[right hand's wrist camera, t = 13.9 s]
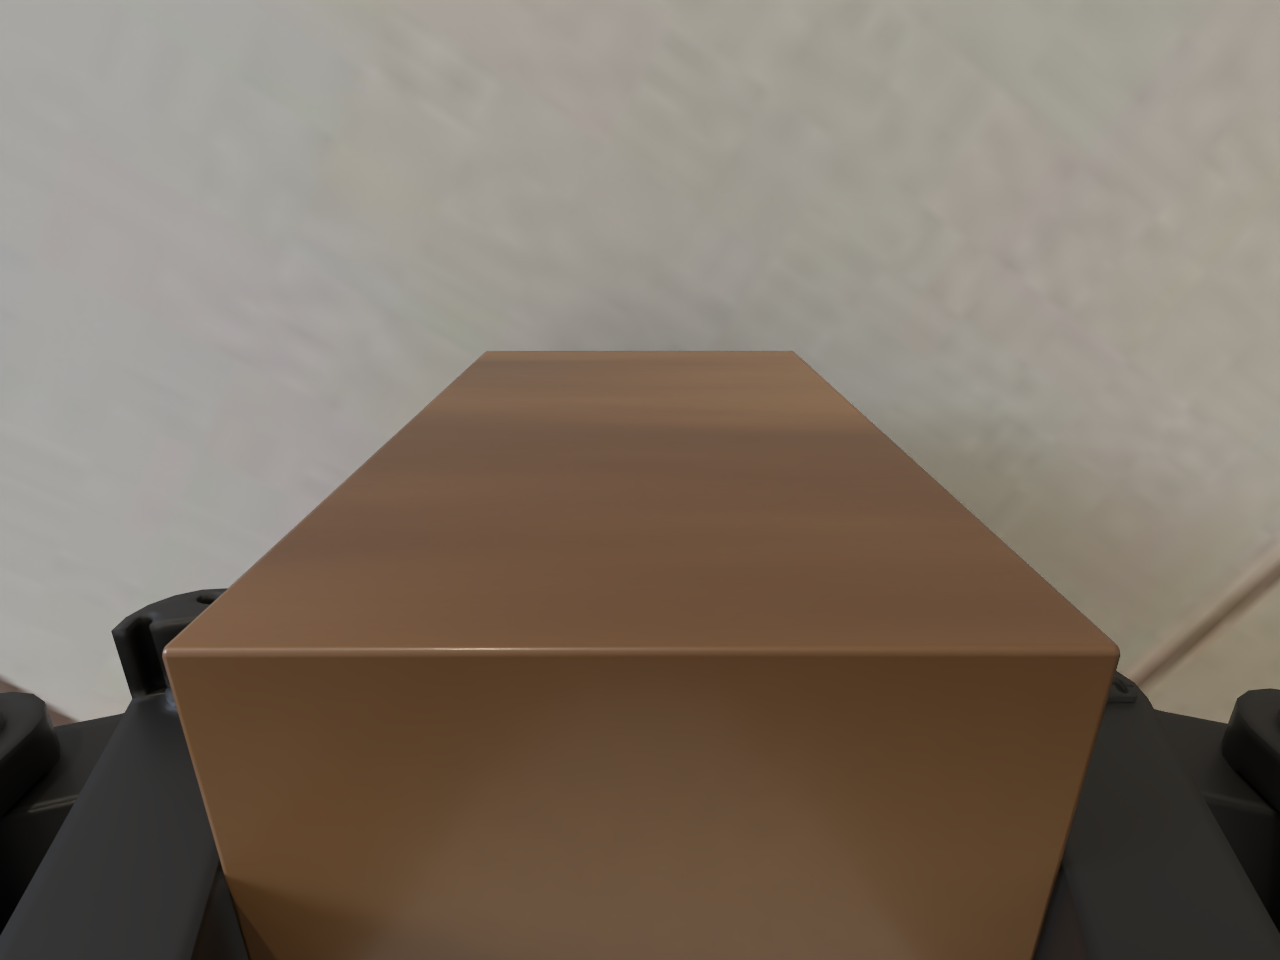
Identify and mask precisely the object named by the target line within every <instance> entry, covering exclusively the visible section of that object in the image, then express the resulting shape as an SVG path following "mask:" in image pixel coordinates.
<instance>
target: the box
mask: <svg viewBox="0 0 1280 960" xmlns="http://www.w3.org/2000/svg"><path fill="white" fill-rule="evenodd" d="M162 658H163V662H164V665H165V669H166V672H167V676H168V679H169V683H170V686H171V690H172V693H173V697H174V700H175V704H176V707H177V711H178V714H179V718H180V721H181V725H182V728H183V732H184V735H185V739H186V742H187V746H188V749H189V753H190V756H191V760H192V763H193V767H194V770H195V774H196V777H197V781H198V784H199V788H200V791H201V795H202V798H203V802H204V805H205V809H206V812H207V816H208V819H209V823H210V826H211V830H212V834H213V837H214V841H215V844H216V848H217V851H218V855H219V858H220V862H221V865H222V869H223V872H224V876H225V879H226V883H227V886H228V890H229V893H230V897H231V900H232V904H233V907H234V911H235V914H236V918H237V921H238V925H239V928H240V932H241V935H242V939H243V942H244V946H245V949H246V953H247V956H248V960H1033V959H1034V956H1035V952H1036V949H1037V945H1038V942H1039V938H1040V935H1041V931H1042V928H1043V924H1044V921H1045V917H1046V914H1047V910H1048V907H1049V903H1050V900H1051V896H1052V893H1053V889H1054V886H1055V882H1056V878H1057V875H1058V871H1059V868H1060V864H1061V861H1062V857H1063V854H1064V850H1065V847H1066V843H1067V840H1068V836H1069V833H1070V829H1071V826H1072V822H1073V819H1074V815H1075V812H1076V808H1077V805H1078V801H1079V798H1080V794H1081V791H1082V787H1083V784H1084V780H1085V777H1086V773H1087V770H1088V766H1089V763H1090V759H1091V756H1092V752H1093V749H1094V745H1095V742H1096V738H1097V735H1098V731H1099V728H1100V724H1101V721H1102V717H1103V714H1104V710H1105V707H1106V703H1107V700H1108V696H1109V693H1110V689H1111V686H1112V682H1113V679H1114V675H1115V672H1116V668H1117V665H1118V661H1119V658H1120V650H1119V648H1118V646H1117V645H1116V644H1115V643H1114V642H1113V641H1112V640H1111V639H1110V638H1109V637H1107V636H1106V635H1105V634H1104V633H1103V632H1102V631H1101V630H1100V629H1099V628H1098V627H1096V626H1095V625H1094V624H1093V623H1092V622H1091V621H1090V620H1089V619H1088V618H1087V617H1085V616H1084V615H1083V614H1082V613H1081V612H1080V611H1079V610H1078V609H1077V608H1076V607H1074V606H1073V605H1072V604H1071V603H1070V602H1069V601H1068V600H1067V599H1066V598H1065V597H1063V596H1062V595H1061V594H1060V593H1059V592H1058V591H1057V590H1056V589H1055V588H1054V587H1052V586H1051V585H1050V584H1049V583H1048V582H1047V581H1046V580H1045V579H1044V578H1042V577H1041V576H1040V575H1039V574H1038V573H1037V572H1036V571H1035V570H1034V569H1033V568H1031V567H1030V566H1029V565H1028V564H1027V563H1026V562H1025V561H1024V560H1023V559H1022V558H1020V557H1019V556H1018V555H1017V554H1016V553H1015V552H1014V551H1013V550H1012V549H1011V548H1009V547H1008V546H1007V545H1006V544H1005V543H1004V542H1003V541H1002V540H1001V539H1000V538H998V537H997V536H996V535H995V534H994V533H993V532H992V531H991V530H990V529H989V528H987V527H986V526H985V525H984V524H983V523H982V522H981V521H980V520H979V519H977V518H976V517H975V516H974V515H973V514H972V513H971V512H970V511H969V510H968V509H966V508H965V507H964V506H963V505H962V504H961V503H960V502H959V501H958V500H957V499H955V498H954V497H953V496H952V495H951V494H950V493H949V492H948V491H947V490H946V489H944V488H943V487H942V486H941V485H940V484H939V483H938V482H937V481H936V480H935V479H933V478H932V477H931V476H930V475H929V474H928V473H927V472H926V471H925V470H924V469H922V468H921V467H920V466H919V465H918V464H917V463H916V462H915V461H914V460H912V459H911V458H910V457H909V456H908V455H907V454H906V453H905V452H904V451H903V450H901V449H900V448H899V447H898V446H897V445H896V444H895V443H894V442H893V441H892V440H890V439H889V438H888V437H887V436H886V435H885V434H884V433H883V432H882V431H881V430H879V429H878V428H877V427H876V426H875V425H874V424H873V423H872V422H871V421H870V420H868V419H867V418H866V417H865V416H864V415H863V414H862V413H861V412H860V411H859V410H857V409H856V408H855V407H854V406H853V405H852V404H851V403H850V402H849V401H847V400H846V399H845V398H844V397H843V396H842V395H841V394H840V393H839V392H838V391H836V390H835V389H834V388H833V387H832V386H831V385H830V384H829V383H828V382H827V381H825V380H824V379H823V378H822V377H821V376H820V375H819V374H818V373H817V372H816V371H814V370H813V369H812V368H811V367H810V366H809V365H808V364H807V363H806V362H805V361H803V360H802V359H801V358H800V357H799V356H798V355H797V354H796V353H795V352H793V351H487V352H485V353H484V354H483V355H482V356H481V357H479V358H478V359H477V360H476V361H475V362H474V363H473V364H472V365H471V366H470V367H469V368H468V369H466V370H465V371H464V372H463V373H462V374H461V375H460V376H459V377H458V378H457V379H456V380H454V381H453V382H452V383H451V384H450V385H449V386H448V387H447V388H446V389H445V390H444V391H442V392H441V393H440V394H439V395H438V396H437V397H436V398H435V399H434V400H433V401H432V402H431V403H429V404H428V405H427V406H426V407H425V408H424V409H423V410H422V411H421V412H420V413H419V414H417V415H416V416H415V417H414V418H413V419H412V420H411V421H410V422H409V423H408V424H407V425H405V426H404V427H403V428H402V429H401V430H400V431H399V432H398V433H397V434H396V435H395V436H394V437H392V438H391V439H390V440H389V441H388V442H387V443H386V444H385V445H384V446H383V447H382V448H380V449H379V450H378V451H377V452H376V453H375V454H374V455H373V456H372V457H371V458H370V459H368V460H367V461H366V462H365V463H364V464H363V465H362V466H361V467H360V468H359V469H358V470H357V471H355V472H354V473H353V474H352V475H351V476H350V477H349V478H348V479H347V480H346V481H345V482H343V483H342V484H341V485H340V486H339V487H338V488H337V489H336V490H335V491H334V492H333V493H331V494H330V495H329V496H328V497H327V498H326V499H325V500H324V501H323V502H322V503H321V504H320V505H318V506H317V507H316V508H315V509H314V510H313V511H312V512H311V513H310V514H309V515H308V516H306V517H305V518H304V519H303V520H302V521H301V522H300V523H299V524H298V525H297V526H296V527H294V528H293V529H292V530H291V531H290V532H289V533H288V534H287V535H286V536H285V537H284V538H283V539H281V540H280V541H279V542H278V543H277V544H276V545H275V546H274V547H273V548H272V549H271V550H269V551H268V552H267V553H266V554H265V555H264V556H263V557H262V558H261V559H260V560H259V561H257V562H256V563H255V564H254V565H253V566H252V567H251V568H250V569H249V570H248V571H247V572H245V573H244V574H243V575H242V576H241V577H240V578H239V579H238V580H237V581H236V582H235V583H234V584H232V585H231V586H230V587H229V588H228V589H227V590H226V591H225V592H224V593H223V594H222V595H220V596H219V597H218V598H217V599H216V600H215V601H214V602H213V603H212V604H211V605H210V606H208V607H207V608H206V609H205V610H204V611H203V612H202V613H201V614H200V615H199V616H198V617H197V618H195V619H194V620H193V621H192V622H191V623H190V624H189V625H188V626H187V627H186V628H185V629H183V630H182V631H181V632H180V633H179V634H178V635H177V636H176V637H175V638H174V639H173V640H171V641H170V642H169V643H168V644H167V645H166V646H165V647H164V649H163V653H162Z"/></svg>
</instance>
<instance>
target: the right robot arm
mask: <svg viewBox="0 0 1280 960" xmlns="http://www.w3.org/2000/svg"><path fill="white" fill-rule="evenodd" d="M226 590H227V589H208V590H199V591H194V592H189V593H185V594H180V595H175V596H172V597H170V598H167V599H164V600H161V601H158V602H156V603H153V604H150V605H148V606H146V607H144V608H142V609H140V610H139V611H137V612H135V613H133V614H131V615H130V616H128V617H126V618H125V619H124V620H123V621H122V622H121V623H120V624H118V625H117V626H116V627H115V628H114V629H113V630H112V635H113V638H114V641H115V644H116V648H117V651H118V654H119V657H120V660H121V664H122V667H123V670H124V673H125V677H126V680H127V683H128V686H129V689H130V693H131V696H132V701H131V703H130V704H129V706H128V708H127V710H126V711H125V713H123V714H119V715H114V716H109V717H104V718H98V719H93V720H88V721H83V722H78V723H73V724H68V725H62V726H57V727H54V726H53V724H52V721H51V718H50V716H49V713H48V710H47V707H46V704H45V702H44V701H43V700H41V699H40V698H38V697H37V696H35V695H34V694H29V693H18V692H8V693H0V960H248V956H247V953H246V949H245V946H244V942H243V939H242V935H241V932H240V928H239V925H238V921H237V918H236V914H235V911H234V907H233V904H232V900H231V897H230V893H229V890H228V886H227V883H226V879H225V876H224V872H223V869H222V865H221V862H220V858H219V855H218V851H217V848H216V844H215V841H214V837H213V834H212V830H211V826H210V823H209V819H208V816H207V812H206V809H205V805H204V802H203V798H202V795H201V791H200V788H199V784H198V781H197V777H196V774H195V770H194V767H193V763H192V760H191V756H190V753H189V749H188V746H187V742H186V739H185V735H184V732H183V728H182V725H181V721H180V718H179V714H178V711H177V707H176V704H175V700H174V697H173V693H172V690H171V686H170V683H169V679H168V676H167V672H166V669H165V665H164V662H163V658H162V653H163V649H164V647H165V646H166V645H167V644H168V643H169V642H170V641H171V640H173V639H174V638H175V637H176V636H177V635H178V634H179V633H180V632H181V631H182V630H183V629H185V628H186V627H187V626H188V625H189V624H190V623H191V622H192V621H193V620H194V619H195V618H197V617H198V616H199V615H200V614H201V613H202V612H203V611H204V610H205V609H206V608H207V607H208V606H210V605H211V604H212V603H213V602H214V601H215V600H216V599H217V598H218V597H219V596H220V595H222V594H223V593H224V592H225V591H226ZM1033 960H1280V690H1277V689H1260V690H1250V691H1247V692H1246V693H1245V694H1243V695H1242V696H1240V697H1239V698H1237V701H1236V704H1235V706H1234V709H1233V712H1232V715H1231V717H1230V720H1229V723H1228V724H1225V723H1220V722H1215V721H1210V720H1205V719H1199V718H1194V717H1189V716H1184V715H1179V714H1173V713H1168V712H1163V711H1159V710H1155V709H1154V708H1153V707H1152V705H1151V703H1150V701H1149V699H1148V698H1147V697H1146V696H1145V694H1144V693H1143V692H1142V691H1141V690H1140V689H1139V688H1138V686H1137V685H1136V684H1135V683H1134V682H1132V681H1131V680H1129V679H1128V678H1126V677H1125V676H1123V675H1122V674H1120V673H1119V672H1117V671H1116V672H1115V675H1114V679H1113V682H1112V686H1111V689H1110V693H1109V696H1108V700H1107V703H1106V707H1105V710H1104V714H1103V717H1102V721H1101V724H1100V728H1099V731H1098V735H1097V738H1096V742H1095V745H1094V749H1093V752H1092V756H1091V759H1090V763H1089V766H1088V770H1087V773H1086V777H1085V780H1084V784H1083V787H1082V791H1081V794H1080V798H1079V801H1078V805H1077V808H1076V812H1075V815H1074V819H1073V822H1072V826H1071V829H1070V833H1069V836H1068V840H1067V843H1066V847H1065V850H1064V854H1063V857H1062V861H1061V864H1060V868H1059V871H1058V875H1057V878H1056V882H1055V886H1054V889H1053V893H1052V896H1051V900H1050V903H1049V907H1048V910H1047V914H1046V917H1045V921H1044V924H1043V928H1042V931H1041V935H1040V938H1039V942H1038V945H1037V949H1036V952H1035V956H1034V959H1033Z"/></svg>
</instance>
